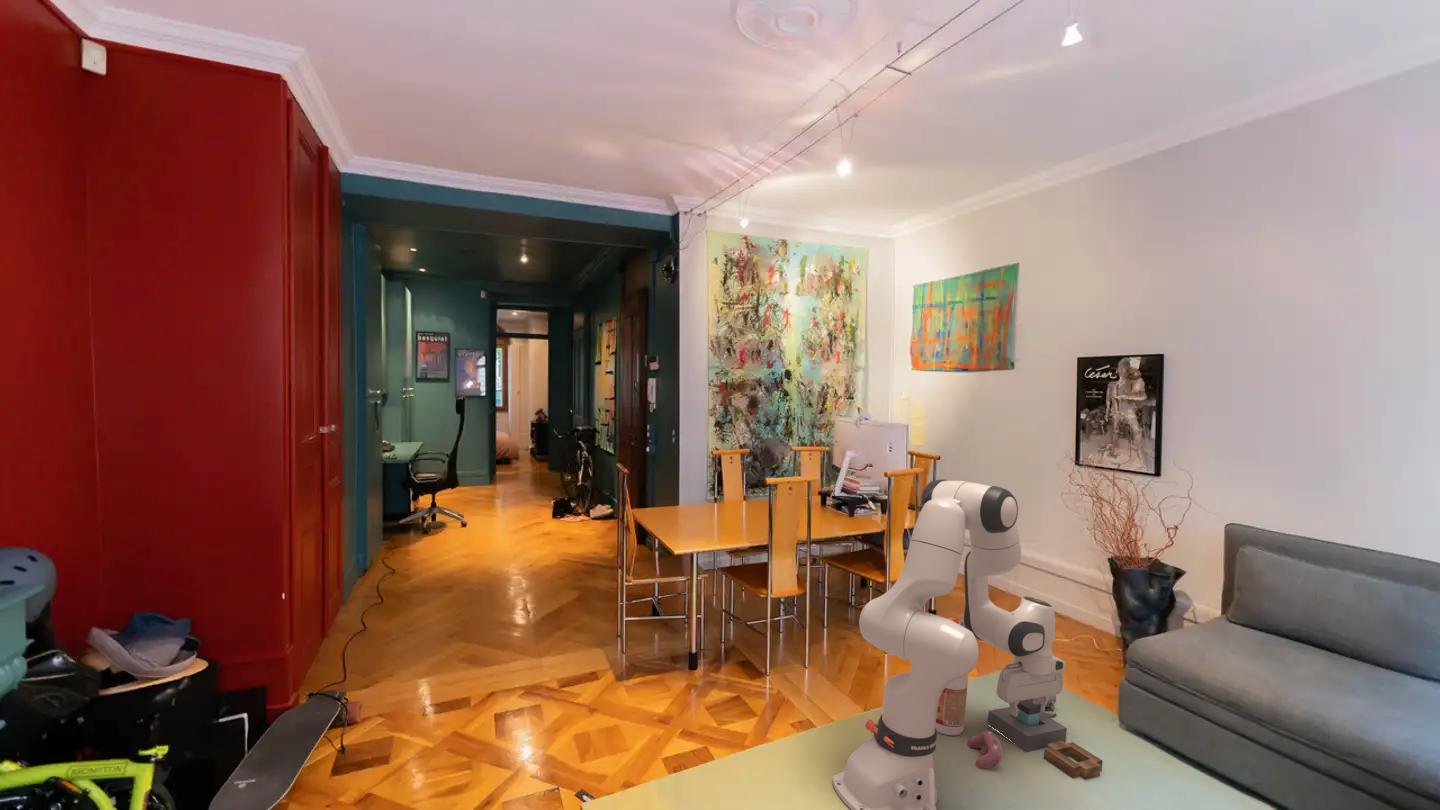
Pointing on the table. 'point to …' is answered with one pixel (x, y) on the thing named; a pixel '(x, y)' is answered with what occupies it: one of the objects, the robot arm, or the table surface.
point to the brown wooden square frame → (1086, 761)
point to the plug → (1028, 713)
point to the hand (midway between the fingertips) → (1027, 713)
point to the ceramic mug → (1050, 703)
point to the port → (1027, 730)
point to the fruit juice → (952, 704)
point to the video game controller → (987, 748)
